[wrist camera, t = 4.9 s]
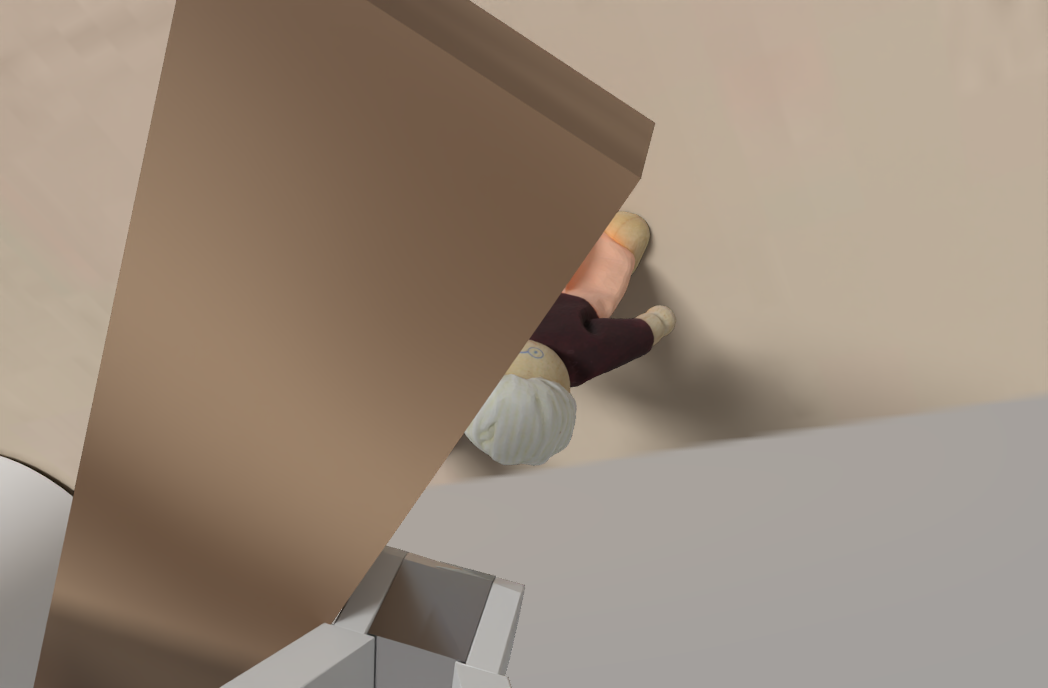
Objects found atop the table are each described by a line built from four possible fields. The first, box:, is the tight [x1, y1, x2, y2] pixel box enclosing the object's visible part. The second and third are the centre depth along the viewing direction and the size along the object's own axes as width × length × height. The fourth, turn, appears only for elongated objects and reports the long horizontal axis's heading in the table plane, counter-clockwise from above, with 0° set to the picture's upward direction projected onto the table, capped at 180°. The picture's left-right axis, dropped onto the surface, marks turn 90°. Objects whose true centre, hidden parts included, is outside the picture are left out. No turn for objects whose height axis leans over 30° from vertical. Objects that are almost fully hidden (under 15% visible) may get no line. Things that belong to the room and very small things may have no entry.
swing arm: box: [33, 0, 655, 688], centre depth 12 cm, size 20×4×2 cm, turn 150°
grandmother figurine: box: [464, 212, 676, 466], centre depth 22 cm, size 8×4×13 cm, turn 106°
